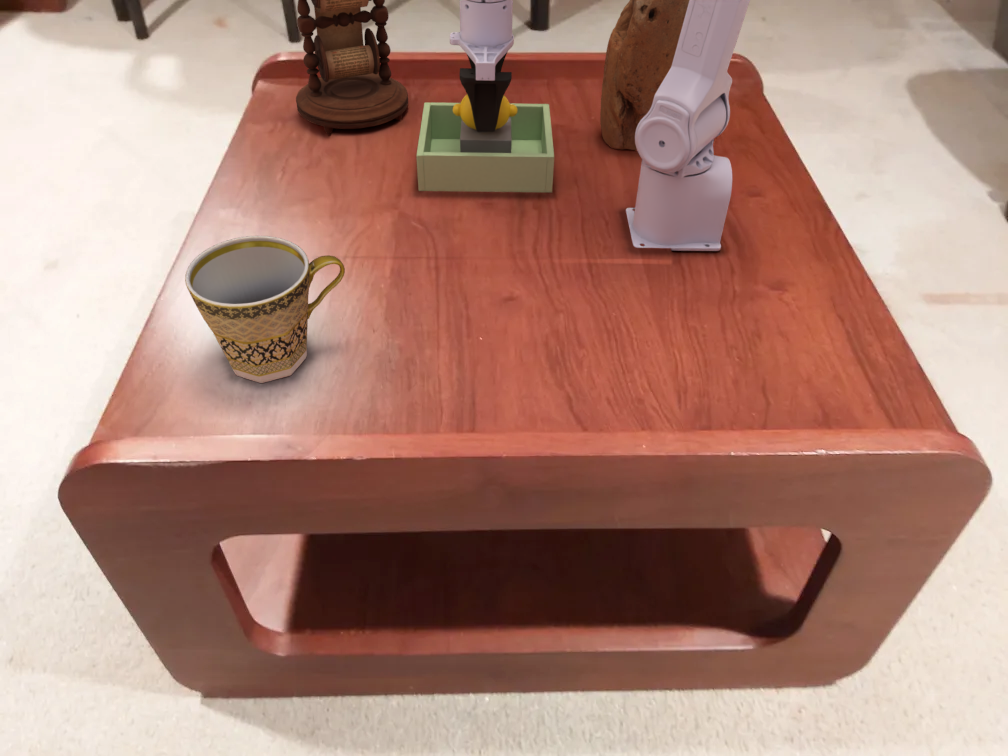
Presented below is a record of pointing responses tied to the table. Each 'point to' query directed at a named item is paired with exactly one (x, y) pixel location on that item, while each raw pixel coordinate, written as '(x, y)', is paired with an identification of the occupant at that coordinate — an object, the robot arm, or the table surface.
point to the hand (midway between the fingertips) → (486, 115)
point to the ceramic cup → (258, 302)
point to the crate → (485, 154)
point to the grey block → (486, 140)
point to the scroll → (347, 67)
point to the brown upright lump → (637, 65)
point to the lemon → (467, 115)
